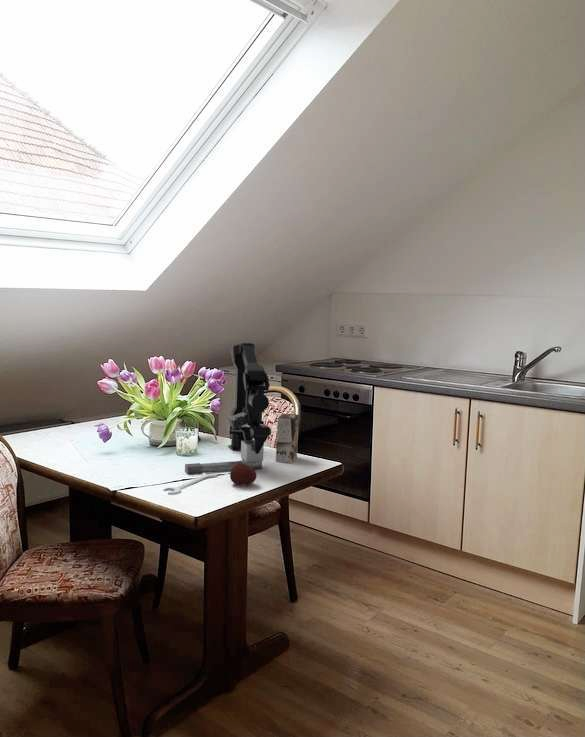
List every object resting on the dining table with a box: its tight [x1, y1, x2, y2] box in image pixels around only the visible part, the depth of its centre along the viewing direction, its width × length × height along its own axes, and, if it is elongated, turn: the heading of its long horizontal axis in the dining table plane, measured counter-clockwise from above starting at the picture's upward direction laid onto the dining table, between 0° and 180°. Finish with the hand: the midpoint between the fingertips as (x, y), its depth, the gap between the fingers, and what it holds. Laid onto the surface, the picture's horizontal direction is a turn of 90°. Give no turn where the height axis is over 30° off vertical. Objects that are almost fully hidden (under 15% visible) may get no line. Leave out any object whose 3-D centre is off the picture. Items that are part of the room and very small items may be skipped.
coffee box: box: [275, 413, 300, 464], centre depth 237 cm, size 9×6×16 cm
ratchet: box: [184, 458, 263, 475], centre depth 221 cm, size 7×26×7 cm, turn 113°
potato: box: [229, 463, 257, 486], centre depth 206 cm, size 7×8×7 cm
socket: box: [240, 439, 265, 462], centre depth 224 cm, size 6×6×6 cm
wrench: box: [163, 472, 218, 495], centre depth 205 cm, size 25×2×5 cm
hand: (252, 450), depth 224 cm, fingers open, 9 cm apart
